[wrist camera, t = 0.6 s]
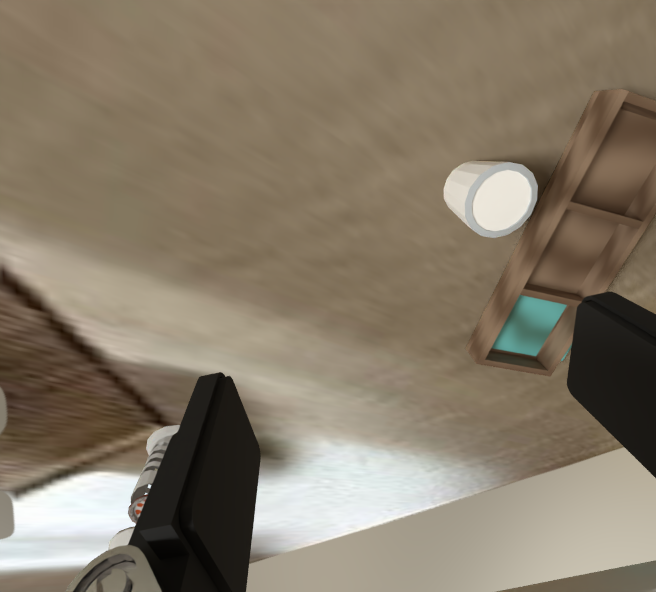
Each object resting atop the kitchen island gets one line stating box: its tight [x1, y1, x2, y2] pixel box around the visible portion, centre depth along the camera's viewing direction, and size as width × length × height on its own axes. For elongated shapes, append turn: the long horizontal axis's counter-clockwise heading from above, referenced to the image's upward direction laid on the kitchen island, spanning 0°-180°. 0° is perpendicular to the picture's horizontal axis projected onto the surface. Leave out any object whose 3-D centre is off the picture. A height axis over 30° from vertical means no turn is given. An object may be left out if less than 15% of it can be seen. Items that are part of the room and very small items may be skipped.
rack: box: [466, 89, 656, 376], centre depth 42 cm, size 31×12×3 cm, turn 166°
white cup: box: [444, 161, 538, 238], centre depth 36 cm, size 7×7×7 cm
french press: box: [109, 425, 180, 550], centre depth 42 cm, size 10×12×25 cm
